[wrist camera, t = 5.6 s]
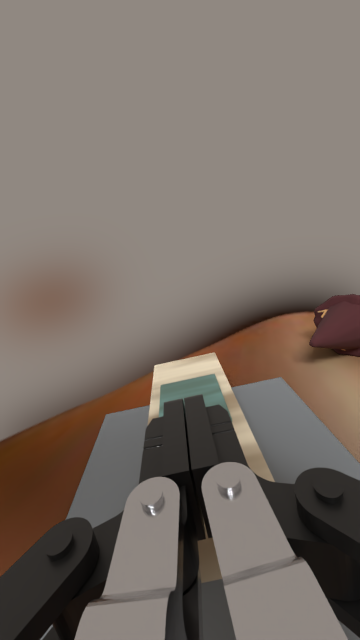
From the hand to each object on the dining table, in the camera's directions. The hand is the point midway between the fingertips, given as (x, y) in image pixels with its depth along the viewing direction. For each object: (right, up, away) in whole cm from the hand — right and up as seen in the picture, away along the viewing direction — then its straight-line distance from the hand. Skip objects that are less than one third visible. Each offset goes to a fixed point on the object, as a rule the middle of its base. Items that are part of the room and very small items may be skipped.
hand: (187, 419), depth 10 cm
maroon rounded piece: (+19, 0, +20) cm, 28 cm away
